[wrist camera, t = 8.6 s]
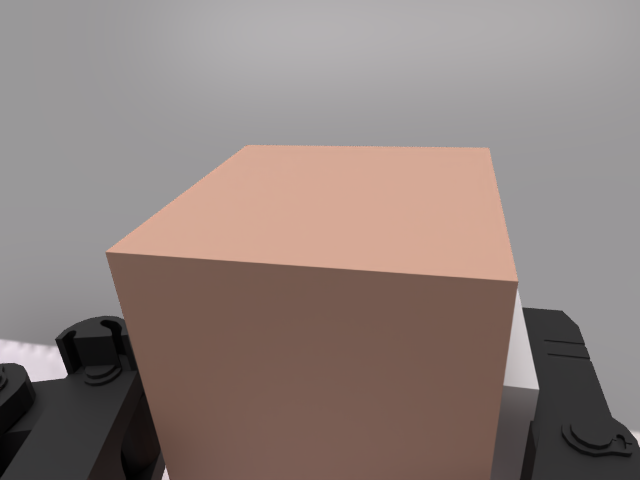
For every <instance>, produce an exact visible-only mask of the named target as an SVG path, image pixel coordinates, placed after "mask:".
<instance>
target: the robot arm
mask: <svg viewBox="0 0 640 480" xmlns="http://www.w3.org/2000/svg"><path fill="white" fill-rule="evenodd" d="M55 340H56V343H57V346H58V348H59V351H60V354H61V357H62V359H63V362H64V365H65V367H66V370H67V373H68V375H67V377H66V378H64V379H56V380H47V381H39V382H31V381H30V379H29V376H28V374H27V372H26V370H25V368H24V367H23V366H21V365H18V364H15V363H2V364H0V480H162V476H163V473H164V470H165V461H164V458H163V454H162V450H161V447H160V443H159V440H158V436H157V433H156V429H155V426H154V422H153V419H152V415H151V412H150V408H149V404H148V401H147V397H146V394H145V390H144V387H143V383H142V380H141V376H140V373H139V369H138V366H137V362H136V359H135V355H134V351H133V348H132V344H131V341H130V337H129V334H128V330H127V327H126V323H125V320H124V319H121V318H119V317H115V316H101V317H95V318H90V319H87V320H84V321H81V322H79V323H76V324H74V325H73V326H71V327H69V328H67V329H66V330H64V331H63V332H62V333H61V334H60V335H59V336H58V337H57V338H56V339H55ZM490 480H640V447H639V445H638V442H637V440H636V438H635V437H634V436H633V435H632V434H631V432H630V431H629V430H628V429H627V428H626V427H625V426H624V425H623V424H621V423H620V422H618V421H617V420H615V419H614V418H612V416H611V413H610V411H609V408H608V405H607V402H606V400H605V397H604V394H603V392H602V389H601V386H600V383H599V381H598V378H597V375H596V373H595V370H594V367H593V364H592V362H591V361H590V357H589V354H588V351H587V348H586V347H585V343H584V340H583V337H582V335H581V332H580V329H579V327H578V325H577V324H575V323H574V322H573V321H572V320H571V319H570V318H569V317H568V316H567V315H566V314H565V313H564V312H563V311H558V310H547V309H534V308H522V307H521V302H520V297H519V292H518V288H517V294H516V301H515V308H514V315H513V322H512V329H511V336H510V343H509V350H508V356H507V363H506V370H505V377H504V384H503V391H502V398H501V405H500V412H499V419H498V426H497V433H496V440H495V447H494V454H493V461H492V468H491V475H490Z"/></svg>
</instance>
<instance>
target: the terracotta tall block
mask: <svg viewBox="0 0 640 480" xmlns="http://www.w3.org/2000/svg"><path fill="white" fill-rule="evenodd" d="M106 256H107V259H108V263H109V266H110V270H111V273H112V277H113V281H114V284H115V288H116V291H117V295H118V298H119V302H120V305H121V309H122V313H123V316H124V320H125V323H126V327H127V330H128V334H129V337H130V341H131V344H132V348H133V351H134V355H135V359H136V362H137V366H138V369H139V373H140V376H141V380H142V383H143V387H144V390H145V394H146V397H147V401H148V404H149V408H150V412H151V415H152V419H153V422H154V426H155V429H156V433H157V436H158V440H159V443H160V447H161V450H162V454H163V458H164V461H165V465H166V468H167V472H168V475H169V479H170V480H490V475H491V468H492V461H493V454H494V447H495V440H496V433H497V426H498V419H499V412H500V405H501V398H502V391H503V384H504V377H505V370H506V363H507V356H508V350H509V343H510V336H511V329H512V322H513V315H514V308H515V301H516V294H517V286H518V278H517V273H516V269H515V264H514V260H513V256H512V251H511V246H510V241H509V237H508V233H507V228H506V223H505V219H504V215H503V210H502V205H501V201H500V196H499V192H498V187H497V183H496V178H495V174H494V169H493V165H492V160H491V156H490V151H489V148H461V147H459V148H457V147H456V148H455V147H453V148H452V147H370V146H285V145H284V146H283V145H282V146H281V145H246V146H245V147H244V148H243V149H241V150H240V151H238V152H237V153H236V154H234V155H233V156H232V157H230V158H229V159H228V160H226V161H225V162H224V163H223V164H221V165H220V166H218V167H217V168H216V169H215V170H213V171H212V172H211V173H209V174H208V175H207V176H206V177H204V178H203V179H201V180H200V181H199V182H197V183H196V184H195V185H193V186H192V187H191V188H189V189H188V190H187V191H185V192H184V193H183V194H181V195H180V196H179V197H177V198H176V199H175V200H173V201H172V202H171V203H169V204H168V205H167V206H165V207H164V208H163V209H162V210H160V211H159V212H157V213H156V214H155V215H154V216H152V217H151V218H150V219H148V220H147V221H146V222H144V223H143V224H142V225H141V226H139V227H138V228H136V229H135V230H134V231H132V232H131V233H130V234H128V235H127V236H126V237H124V238H123V239H122V240H120V241H119V242H118V243H116V244H115V245H114V246H112V247H111V248H110V249H109V250H107V251H106Z"/></svg>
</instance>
